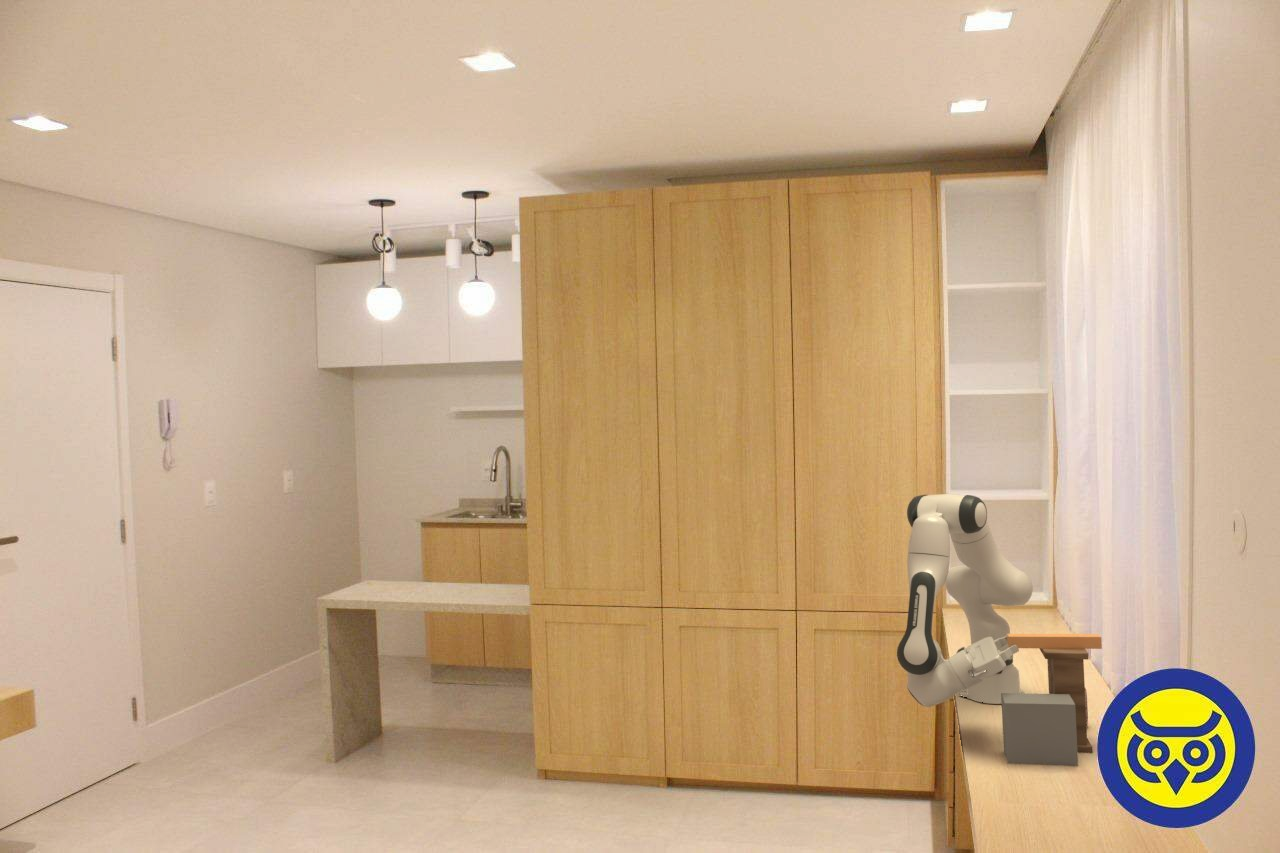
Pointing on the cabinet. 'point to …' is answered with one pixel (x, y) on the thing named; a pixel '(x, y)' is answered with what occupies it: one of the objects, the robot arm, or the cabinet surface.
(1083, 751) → the walnut stand
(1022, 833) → the cabinet surface
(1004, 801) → the cabinet surface
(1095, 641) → the orange square-ended block
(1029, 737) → the grey step block
